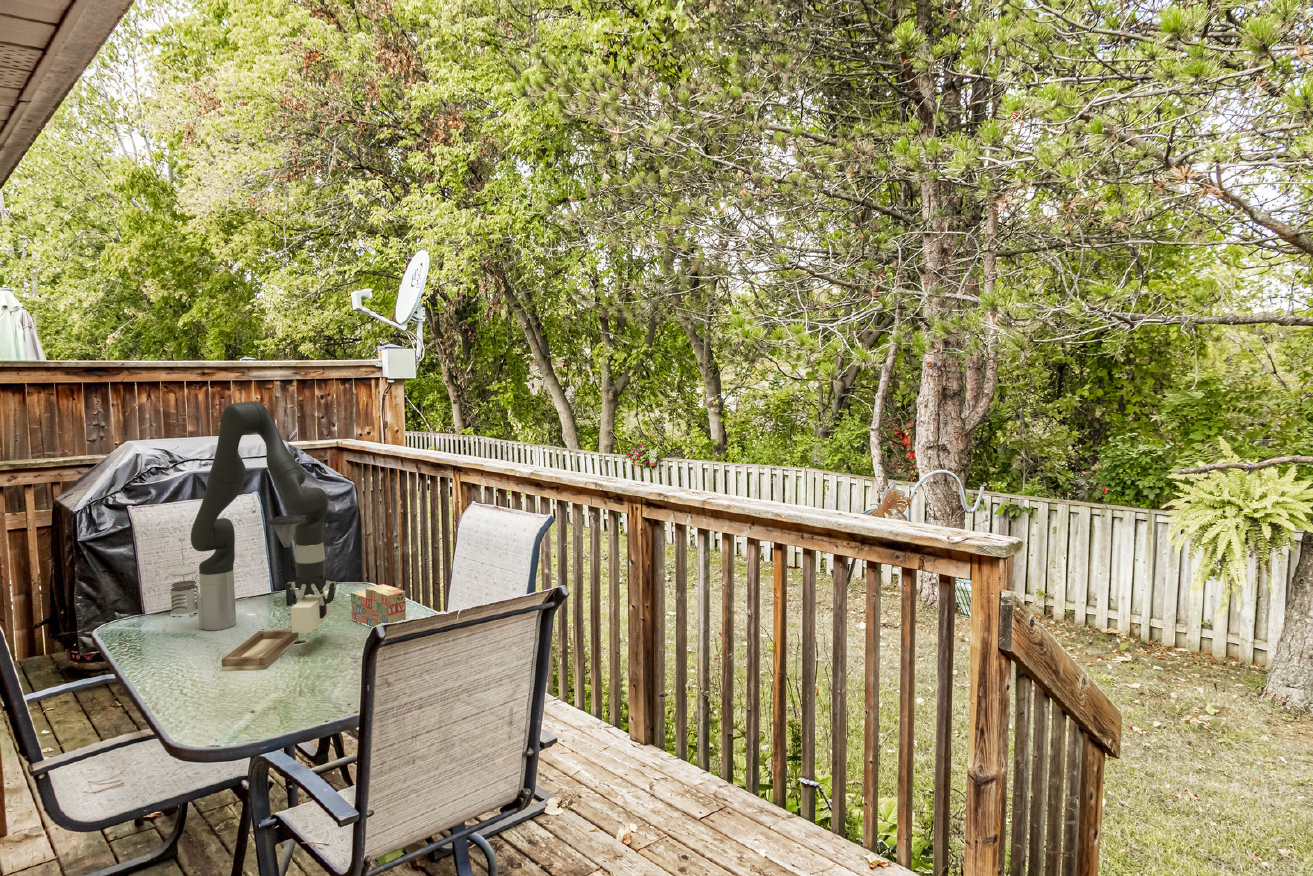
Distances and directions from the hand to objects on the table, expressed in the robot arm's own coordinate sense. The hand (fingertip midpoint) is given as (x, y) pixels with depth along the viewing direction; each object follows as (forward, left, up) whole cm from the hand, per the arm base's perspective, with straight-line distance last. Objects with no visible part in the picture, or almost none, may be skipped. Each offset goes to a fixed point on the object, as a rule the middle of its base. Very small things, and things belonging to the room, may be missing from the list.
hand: (312, 617), depth 223 cm
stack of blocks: (+13, +18, -9) cm, 24 cm away
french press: (-53, +37, -9) cm, 65 cm away
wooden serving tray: (-12, -5, -8) cm, 15 cm away
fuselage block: (0, 0, -2) cm, 2 cm away
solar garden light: (-23, +43, -9) cm, 49 cm away
